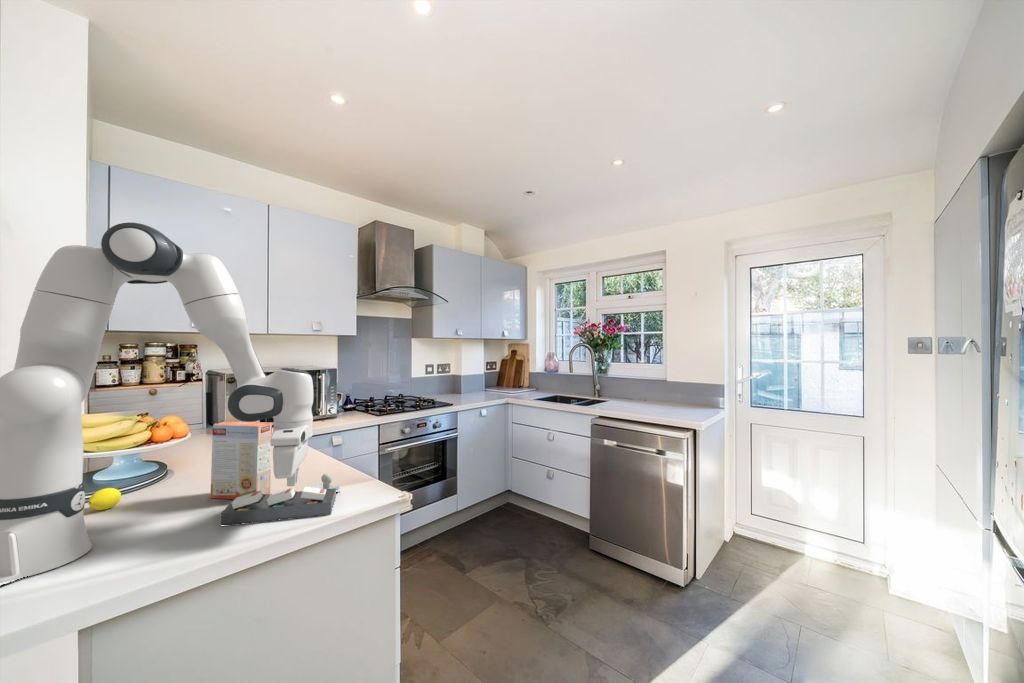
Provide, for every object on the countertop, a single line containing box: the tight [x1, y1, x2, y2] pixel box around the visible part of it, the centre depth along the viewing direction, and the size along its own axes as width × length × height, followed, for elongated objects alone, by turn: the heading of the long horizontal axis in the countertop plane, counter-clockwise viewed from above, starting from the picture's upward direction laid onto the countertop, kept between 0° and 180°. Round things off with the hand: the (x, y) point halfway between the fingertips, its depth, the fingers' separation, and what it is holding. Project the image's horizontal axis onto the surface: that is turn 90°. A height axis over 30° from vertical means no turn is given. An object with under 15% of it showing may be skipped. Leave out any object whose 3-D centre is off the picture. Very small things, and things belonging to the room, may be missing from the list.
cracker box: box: [210, 420, 273, 500], centre depth 110 cm, size 14×6×21 cm, turn 84°
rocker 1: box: [231, 490, 262, 509], centre depth 95 cm, size 5×3×2 cm, turn 108°
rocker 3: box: [301, 486, 327, 500], centre depth 100 cm, size 5×3×2 cm, turn 108°
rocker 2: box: [267, 487, 295, 506], centre depth 98 cm, size 5×3×2 cm, turn 108°
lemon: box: [87, 487, 122, 511], centre depth 99 cm, size 7×5×5 cm
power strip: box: [220, 488, 337, 526], centre depth 100 cm, size 24×10×4 cm, turn 108°
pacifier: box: [313, 473, 341, 493], centre depth 113 cm, size 7×6×6 cm
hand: (292, 484), depth 99 cm, fingers closed
